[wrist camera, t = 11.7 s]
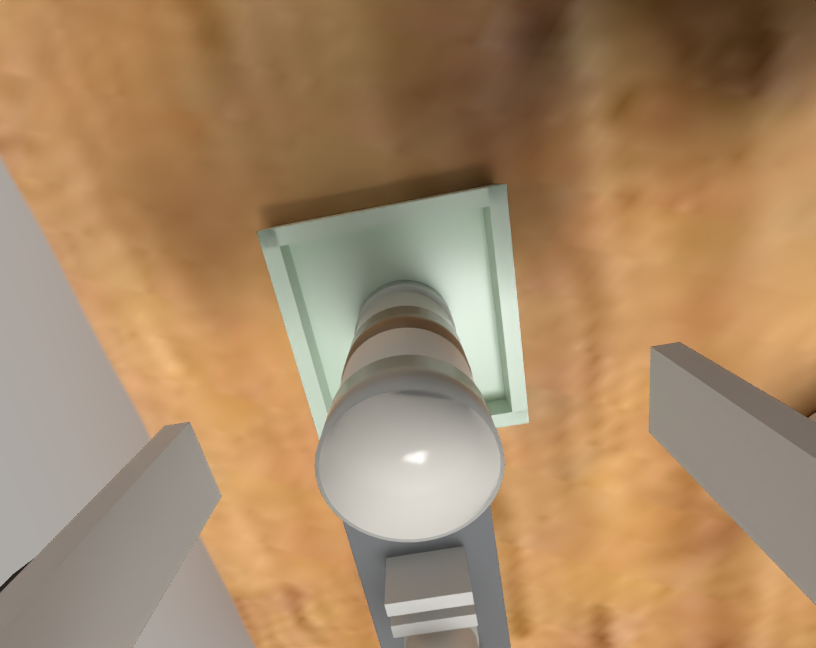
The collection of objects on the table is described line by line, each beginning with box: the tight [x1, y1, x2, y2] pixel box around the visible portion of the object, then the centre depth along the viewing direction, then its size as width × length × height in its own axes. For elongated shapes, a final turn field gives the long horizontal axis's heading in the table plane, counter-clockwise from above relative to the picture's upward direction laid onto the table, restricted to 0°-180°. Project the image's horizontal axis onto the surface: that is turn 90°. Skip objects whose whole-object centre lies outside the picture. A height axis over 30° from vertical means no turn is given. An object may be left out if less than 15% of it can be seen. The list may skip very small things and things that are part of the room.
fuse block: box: [343, 505, 511, 648], centre depth 25 cm, size 18×9×4 cm, turn 10°
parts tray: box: [257, 184, 529, 440], centre depth 20 cm, size 12×11×2 cm
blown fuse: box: [315, 280, 505, 542], centre depth 15 cm, size 5×5×11 cm
